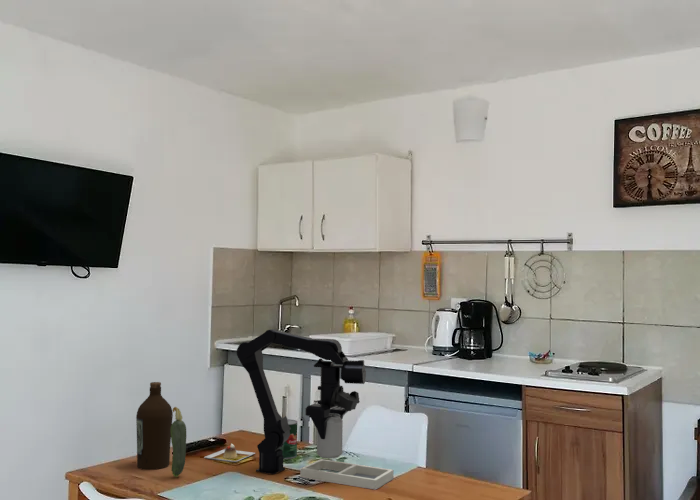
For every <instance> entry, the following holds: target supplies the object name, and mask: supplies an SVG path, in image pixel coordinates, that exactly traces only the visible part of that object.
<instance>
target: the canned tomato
mask: <svg viewBox="0 0 700 500" xmlns="http://www.w3.org/2000/svg"><path fill="white" fill-rule="evenodd" d="M287 421H288V425H289V426H290V428H291V429H290V430H289V431H290V436H289V438H288V440H287V441H286V442H284V444H283V446H282V447H281V448H280V449H281V450H282V455H283V456H284V458H283V460H290V459H295V458H297V457H298V420H296V419H288V418H287Z"/></svg>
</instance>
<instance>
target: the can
mask: <svg viewBox="0 0 700 500" xmlns="http://www.w3.org/2000/svg"><path fill="white" fill-rule="evenodd" d="M329 416H331V417H330V419H329V420H328V421H327V427H326V435H325V439H321V438H320V435H319V433H318V431H317V430H316V454H317V456H319V457H320V458H321V459H327V460H332V459H339V457H340V456H342V454H343V434H344V433H343V430H344V429H343V427H344V426H343V424H344V422H343V419H341V418H340V415H339V414H335V413H330V414H329Z"/></svg>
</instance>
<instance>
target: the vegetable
mask: <svg viewBox="0 0 700 500" xmlns="http://www.w3.org/2000/svg"><path fill="white" fill-rule="evenodd" d="M172 412H173V413H174V412H175V414H174V415H175V416H174V417H175V420H174V421H172V425H171V446H172V460H171V461H172V462H171V474H172V475H173V477H174V478H178V477H179V476H180V475H181V474H182V472H184V469H185V463H186V453H187V426H186V423H185V422H184V421H183V415H182V412H181V409H180V408H178V407H177V406H174V407H173V408H172Z"/></svg>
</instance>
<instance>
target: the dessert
mask: <svg viewBox="0 0 700 500" xmlns="http://www.w3.org/2000/svg"><path fill="white" fill-rule="evenodd" d="M222 454H223V456H222V457H223V458H222V459H221V458H216V457H217V456H220V455H222ZM238 454H239V455H246V456H244V457H242V458H240V459H237V458H238ZM255 454H256V452H252V451H243V450H237V449H236V447H235V445H234V444H233V443H230V444H229V445H227V446H226V447H225V448H224V449H222V450H218V451H216V452H213V453H211V454H208V455H206V456H204V457H203V458H204V459H207V460H214V461H220V462H221V461H223V462H227V463H228V462H229V463H237V462H240V461H242V460H244V459H246V458H249V457H252V456H254V455H255ZM231 459H237V460H231Z"/></svg>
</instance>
